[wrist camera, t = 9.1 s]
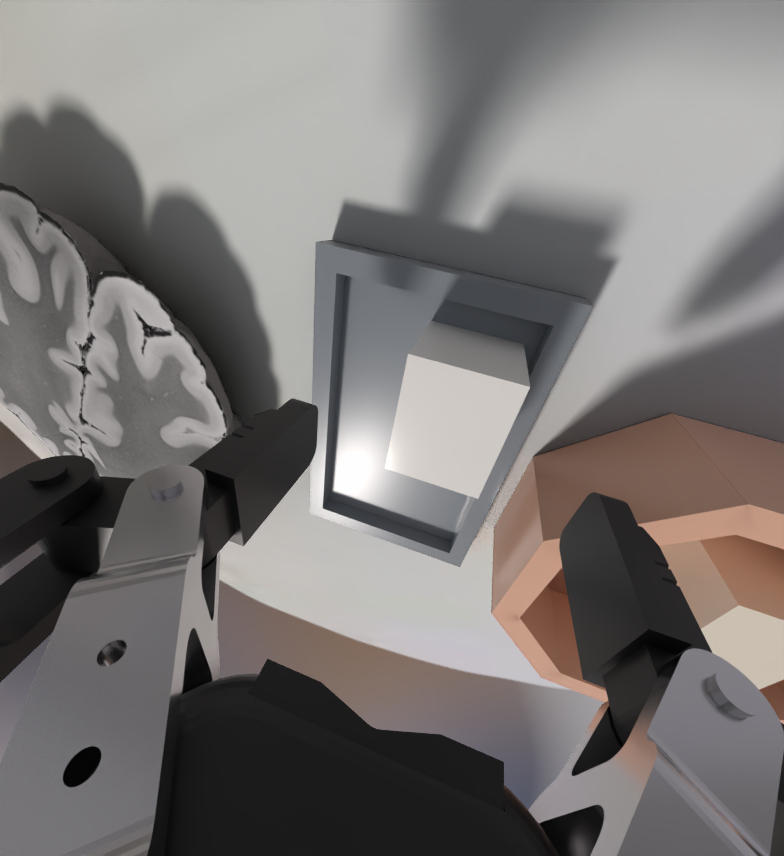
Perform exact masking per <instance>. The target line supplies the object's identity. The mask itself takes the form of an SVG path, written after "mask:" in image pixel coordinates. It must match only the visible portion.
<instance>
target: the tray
mask: <svg viewBox="0 0 784 856" xmlns="http://www.w3.org/2000/svg"><path fill="white" fill-rule="evenodd" d="M592 307H593V306H592V305H591V304H590V303H589V302H588V301H587V300H586V299H585V298H582V297H578V296H573V295H569V294H565V293H560V292H556V291H551V290H547V289H543V288H538V287H534V286H530V285H525V284H521V283H517V282H512V281H508V280H503V279H499V278H495V277H490V276H486V275H482V274H477V273H473V272H469V271H464V270H460V269H455V268H451V267H447V266H442V265H438V264H434V263H429V262H425V261H421V260H416V259H412V258H407V257H403V256H399V255H394V254H390V253H386V252H381V251H377V250H373V249H368V248H364V247H359V246H355V245H351V244H346V243H342V242H338V241H333V240H328V241H320V242H316V260H315V303H314V346H313V388H312V404H313V405H316V406H317V408H318V429H317V447H316V452H315V455H314V458H313V460H312V462H311V474H310V513H311V514H314V515H316V516H319V517H322V518H325V519H328V520H330V521H333V522H336V523H339V524H341V525H344V526H347V527H350V528H353V529H355V530H358V531H361V532H364V533H367V534H369V535H372V536H375V537H378V538H380V539H383V540H386V541H389V542H392V543H394V544H397V545H400V546H403V547H406V548H408V549H411V550H414V551H417V552H419V553H422V554H425V555H428V556H431V557H433V558H436V559H439V560H442V561H445V562H447V563H450V564H453V565H456V566H458V567H460V566H461V564H462V562H463V560H464V558H465V556H466V554H467V552H468V550H469V548H470V546H471V544H472V542H473V540H474V538H475V536H476V534H477V532H478V530H479V528H480V526H481V524H482V522H483V521H484V519H485V517H486V515H487V513H488V511H489V509H490V507H491V505H492V503H493V501H494V499H495V497H496V495H497V493H498V491H499V489H500V487H501V485H502V483H503V481H504V479H505V477H506V476H507V474H508V472H509V470H510V468H511V466H512V464H513V462H514V460H515V458H516V456H517V454H518V452H519V450H520V448H521V446H522V444H523V442H524V440H525V438H526V436H527V434H528V432H529V431H530V429H531V427H532V425H533V423H534V421H535V419H536V417H537V415H538V413H539V411H540V409H541V407H542V405H543V403H544V401H545V399H546V397H547V395H548V393H549V391H550V389H551V387H552V386H553V384H554V382H555V380H556V378H557V376H558V374H559V372H560V370H561V368H562V366H563V364H564V362H565V360H566V358H567V356H568V354H569V352H570V350H571V348H572V346H573V344H574V342H575V341H576V339H577V337H578V335H579V333H580V331H581V329H582V327H583V325H584V323H585V321H586V319H587V317H588V315H589V313H590V311H591V309H592ZM431 321H435V322H439V323H443V324H446V325H450V326H454V327H458V328H462V329H466V330H470V331H474V332H478V333H482V334H486V335H490V336H494V337H498V338H501V339H505V340H509V341H513V342H517V343H521V344H524V349H525V356H526V362H527V369H528V375H529V381H530V389H529V391H528V393H527V395H526V397H525V400H524V402H523V404H522V406H521V408H520V410H519V412H518V415H517V417H516V419H515V421H514V423H513V425H512V427H511V430H510V432H509V434H508V436H507V438H506V440H505V442H504V445H503V447H502V449H501V451H500V453H499V455H498V457H497V459H496V462H495V464H494V466H493V468H492V470H491V472H490V474H489V477H488V479H487V481H486V483H485V485H484V487H483V489H482V492H481V494H480V496H479V498H478V499H477V498H474V497H471V496H467V495H464V494H461V493H458V492H455V491H452V490H449V489H446V488H443V487H440V486H437V485H434V484H431V483H428V482H425V481H422V480H418V479H415V478H412V477H409V476H406V475H403V474H400V473H397V472H394V471H391V470H388V469H385V464H386V459H387V454H388V450H389V445H390V440H391V435H392V430H393V425H394V420H395V415H396V410H397V405H398V401H399V396H400V391H401V386H402V381H403V376H404V371H405V366H406V361H407V357H408V353H409V352H410V350H411V349H412V347H413V346H414V345H415V343H416V342H417V340H418V339H419V337H420V336H421V335H422V333H423V332H424V330H425V329H426V328H427V326H428V325H429V323H430V322H431Z"/></svg>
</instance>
